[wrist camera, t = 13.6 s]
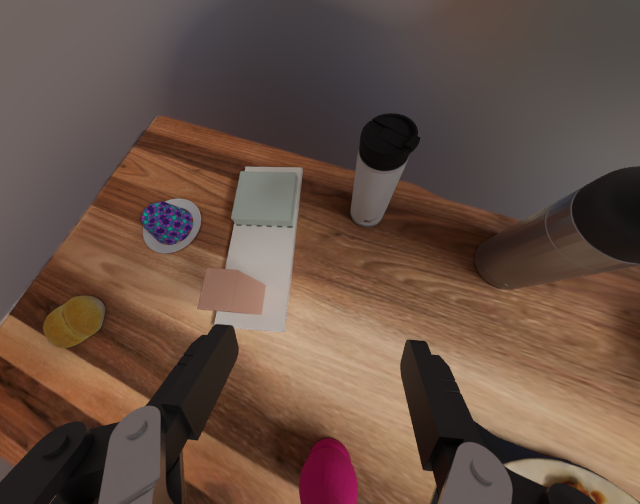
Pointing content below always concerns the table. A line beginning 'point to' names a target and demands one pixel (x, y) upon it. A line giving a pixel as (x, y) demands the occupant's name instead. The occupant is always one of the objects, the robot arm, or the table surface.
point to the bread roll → (74, 321)
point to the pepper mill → (328, 475)
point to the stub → (231, 292)
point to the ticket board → (265, 241)
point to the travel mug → (380, 165)
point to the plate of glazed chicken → (554, 470)
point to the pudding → (170, 224)
